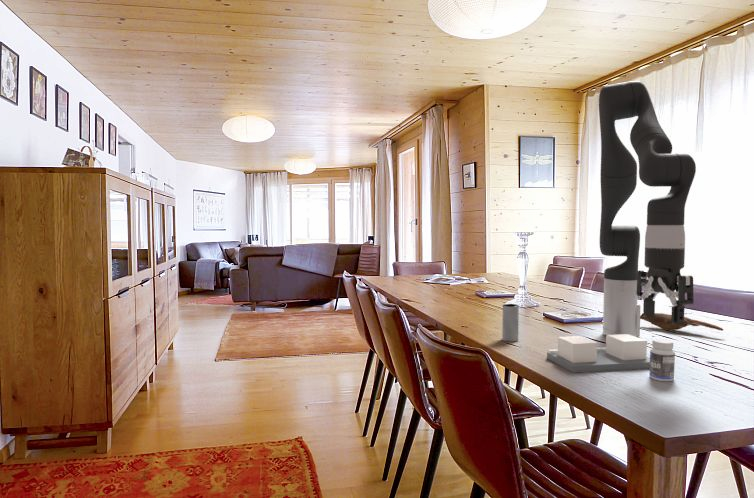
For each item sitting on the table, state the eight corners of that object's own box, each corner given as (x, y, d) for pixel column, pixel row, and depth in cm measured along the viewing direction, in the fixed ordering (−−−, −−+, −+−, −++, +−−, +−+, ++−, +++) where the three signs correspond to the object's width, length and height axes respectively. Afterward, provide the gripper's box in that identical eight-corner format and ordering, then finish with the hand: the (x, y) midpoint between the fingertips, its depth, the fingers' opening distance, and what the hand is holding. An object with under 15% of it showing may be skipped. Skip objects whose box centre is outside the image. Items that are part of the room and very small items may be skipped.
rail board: (626, 354, 128) (626, 331, 128) (659, 367, 116) (660, 342, 116) (547, 358, 125) (547, 334, 125) (572, 372, 113) (573, 346, 113)
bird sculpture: (720, 340, 143) (721, 323, 143) (630, 326, 162) (630, 311, 162) (726, 336, 148) (727, 320, 147) (638, 323, 166) (639, 309, 166)
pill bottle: (644, 375, 111) (645, 338, 110) (664, 374, 111) (665, 338, 111) (658, 382, 106) (659, 343, 106) (679, 381, 106) (680, 343, 106)
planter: (518, 338, 146) (519, 304, 145) (517, 342, 142) (518, 306, 141) (503, 337, 147) (503, 303, 147) (501, 341, 143) (502, 305, 142)
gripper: (706, 247, 101) (703, 326, 101) (656, 244, 115) (655, 314, 115) (673, 247, 100) (671, 327, 100) (627, 245, 114) (625, 314, 114)
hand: (662, 320), depth 108 cm, fingers open, 8 cm apart
